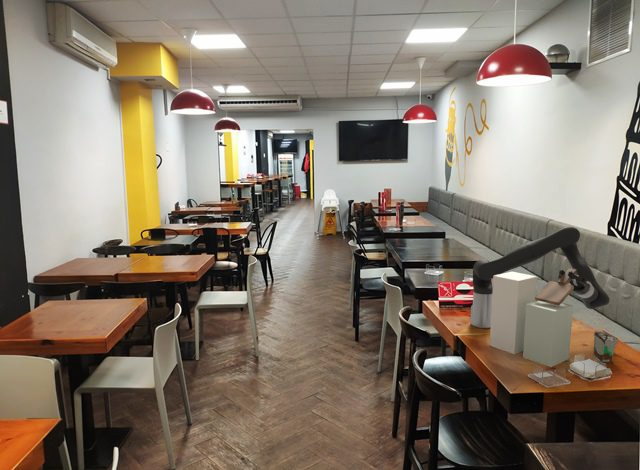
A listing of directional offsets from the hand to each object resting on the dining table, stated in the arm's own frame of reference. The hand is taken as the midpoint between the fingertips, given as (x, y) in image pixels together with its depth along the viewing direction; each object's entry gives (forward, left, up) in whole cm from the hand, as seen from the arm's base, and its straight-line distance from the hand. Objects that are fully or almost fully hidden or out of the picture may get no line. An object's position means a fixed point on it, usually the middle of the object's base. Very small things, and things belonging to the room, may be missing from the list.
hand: (565, 272), depth 195 cm
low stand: (0, -11, -35) cm, 37 cm away
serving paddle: (0, -2, -6) cm, 6 cm away
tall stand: (-16, -11, -35) cm, 40 cm away
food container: (+15, +8, -35) cm, 39 cm away
